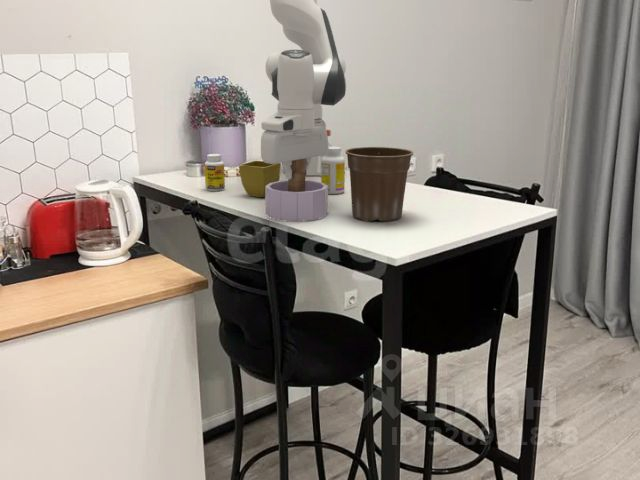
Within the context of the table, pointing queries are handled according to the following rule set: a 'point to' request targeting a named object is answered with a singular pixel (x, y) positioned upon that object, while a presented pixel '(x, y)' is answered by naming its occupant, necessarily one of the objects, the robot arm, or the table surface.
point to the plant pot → (378, 181)
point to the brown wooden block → (297, 176)
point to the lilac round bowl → (296, 201)
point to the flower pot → (258, 176)
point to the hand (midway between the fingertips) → (296, 177)
